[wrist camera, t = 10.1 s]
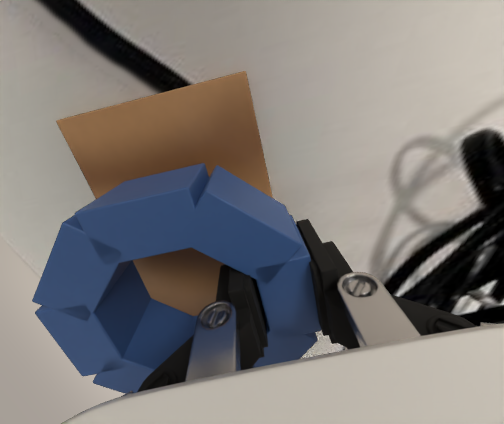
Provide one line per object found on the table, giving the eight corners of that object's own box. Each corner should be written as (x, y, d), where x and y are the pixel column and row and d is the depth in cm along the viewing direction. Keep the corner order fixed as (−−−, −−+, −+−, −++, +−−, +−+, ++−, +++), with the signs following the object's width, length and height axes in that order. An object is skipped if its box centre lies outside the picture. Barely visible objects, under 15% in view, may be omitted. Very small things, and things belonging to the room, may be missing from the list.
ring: (54, 197, 11) (-25, 235, 8) (279, 144, 10) (296, 162, 7) (143, 352, 15) (115, 421, 11) (310, 320, 14) (330, 382, 11)
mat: (62, 120, 12) (54, 120, 11) (245, 72, 11) (245, 70, 11) (177, 347, 18) (175, 354, 18) (299, 323, 18) (300, 329, 17)
